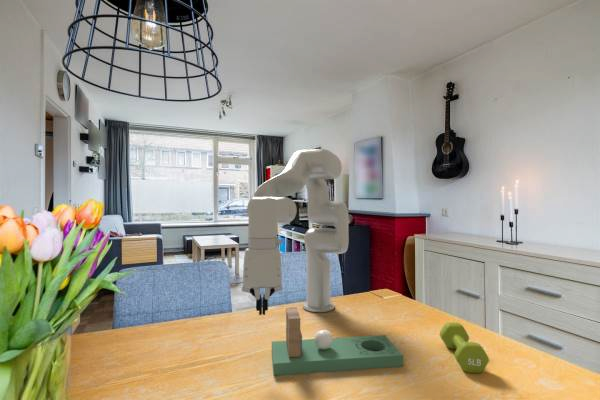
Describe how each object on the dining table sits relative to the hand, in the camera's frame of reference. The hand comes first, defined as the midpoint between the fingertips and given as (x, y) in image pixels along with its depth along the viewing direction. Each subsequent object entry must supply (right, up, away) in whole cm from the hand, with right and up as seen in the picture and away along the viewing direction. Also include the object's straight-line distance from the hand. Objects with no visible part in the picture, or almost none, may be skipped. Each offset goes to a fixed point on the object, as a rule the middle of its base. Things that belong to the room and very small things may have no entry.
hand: (262, 313), depth 84 cm
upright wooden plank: (+8, -10, +2) cm, 13 cm away
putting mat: (+20, -14, +3) cm, 24 cm away
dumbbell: (+55, -14, +4) cm, 57 cm away
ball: (+17, -8, +3) cm, 19 cm away
